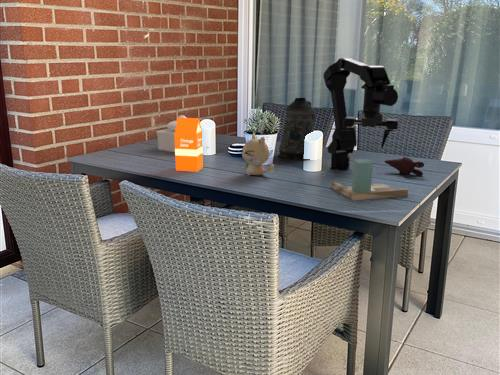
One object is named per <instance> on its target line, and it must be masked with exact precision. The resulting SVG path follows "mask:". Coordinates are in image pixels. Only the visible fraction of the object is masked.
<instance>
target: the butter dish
mask: <svg viewBox="0 0 500 375" xmlns="http://www.w3.org/2000/svg"><path fill="white" fill-rule="evenodd" d="M177 118H187V117H186V115H184V114H181V115H179V116H177ZM176 124H177V119H176V120H173V121H170V122H169V123H167V124H166V129H161V130H156V131H155V133H156V139H157V140H156V141H157V150H159V151H163V150H164V151H163V152H169V153H170V152H171V153H175V134H174V133H175V129H176Z"/></svg>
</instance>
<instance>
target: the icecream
mask: <svg viewBox="0 0 500 375" xmlns="http://www.w3.org/2000/svg"><path fill="white" fill-rule="evenodd" d="M384 163H385V164H387V165H389V166H390V167H392V168H394V169H395V170H397V171H398V172H399V175H401V174H402V175H410V174H413V175H415V176H418V177H422V176H423V175H424V173H423V171H421V170H419V169H420V168H424V166H425V163H424V162H422V161H414V160H413V159H411V158H410V157H407V156H403V157H402V158H396V159H395V158H393V159H387V160H384ZM416 168H418V169H416Z"/></svg>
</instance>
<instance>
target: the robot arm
mask: <svg viewBox="0 0 500 375" xmlns="http://www.w3.org/2000/svg"><path fill="white" fill-rule="evenodd" d="M351 73H352V74H354V75H356V76H359V79H360V80H361V81H362V82H364V84H362V85H361V87H360V89H363V90H364V91H363V92H364V94H363V105H362V106H363V109H362V114H361V119H357V117H356V116H347V106H346V101H345V100H346V99H345V91H344V90H345V88H346V85H347V81H348V80H347V79H348V77H350V75H351ZM323 79H324V83H325V86H326V88H327V89H328V91H329V92H330V95H331V105H332V112H333V113H332V114H333V120H334V131H333V133H332V135H331V138H332V141H330V144H329V145H328V146H327V152H328V153H329V154H331V159H330V160H331V161H330V167H329V170H338V171H348V169H349V168H350V167H351V166H350V165H351V164H350V163H351V156H350V154H353V153H354V150H355V147H357V146H358V145H357V143H358V137H357V136H358V135H357V134H358V129H357V126H361V127H363V128H366V127H370V128H375V127H385V128H384V132H383V137H382V141H381V149H383V148H384V146H385V143H386V141H387V139H388V136H389V134H390V133H391V132H394V130H398V129H399V123H400V121H399V119H397V118H387V119H386V120H383V116H384V114H383V112H381V106H385V107H386V106H387V107H393V106H394V105H395V104H397V102H398V99H399V95H398V92H397V90H396V89H395V88H394V87H395V86H394V84H391V79H389V76H388V73H387V70H386V68H385V66H384V65H374V64H373V65H369V64H366V63H364V62H361V61H358V60H356V59H353V58H351V57H340V58H338V59H337V61H335V62H334V63H332V64H331V65H329V66H328V67H327V68H326V69H325V71H324V73H323Z"/></svg>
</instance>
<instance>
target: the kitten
mask: <svg viewBox="0 0 500 375" xmlns="http://www.w3.org/2000/svg"><path fill="white" fill-rule="evenodd" d="M265 140H266V139H265V137H264V136H262V137H260V138H258V137H257V136H256V133H255V132H253V133H252V134H251V139H249V140H248V141H246V142H245V144H244V145H243V147H242V149H241V153H242V154H241V156H242V159H243V160H244V161H245V166H246V169H245V170H246V171H245V173H246V175H247V176H249V177H250V176H260V175H263V174H268V173H271V171H273V170H274V168H275V165H274V163H271V164H269V166H268V167H267V168H266V169H265V168H264V166H263V165H264V164H265V163H266V162H268V160H269V159H270V158H269V157H270V150H269V146H268V145H267V143H266V141H265Z"/></svg>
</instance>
